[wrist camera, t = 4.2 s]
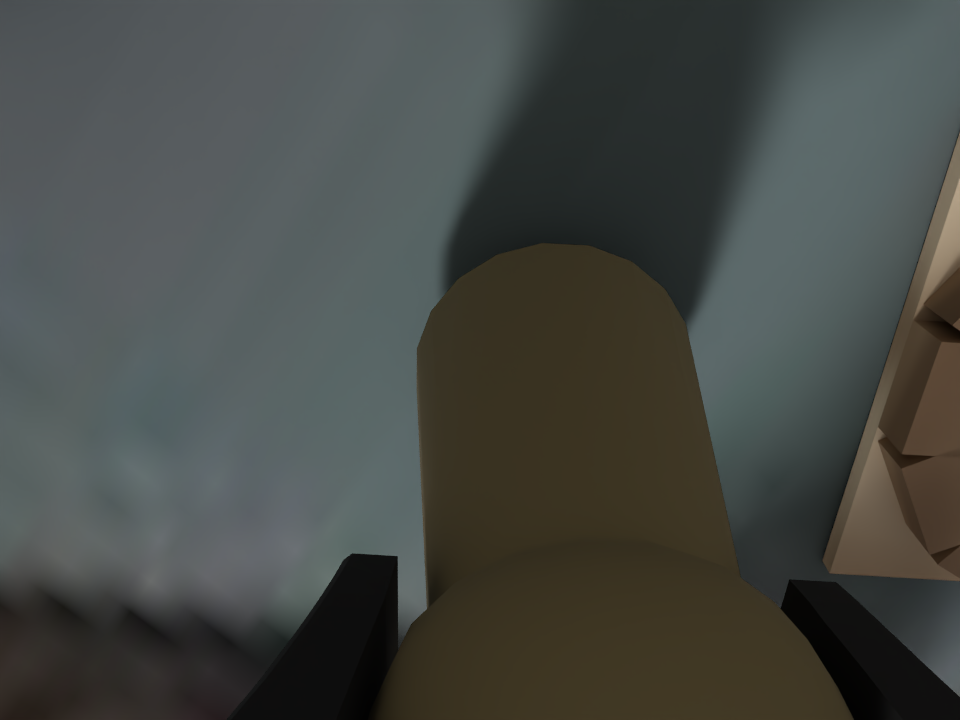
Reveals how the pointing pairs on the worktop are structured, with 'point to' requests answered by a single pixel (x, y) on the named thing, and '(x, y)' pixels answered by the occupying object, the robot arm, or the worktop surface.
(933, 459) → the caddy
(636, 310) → the khaki cylinder
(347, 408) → the worktop surface
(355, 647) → the robot arm
